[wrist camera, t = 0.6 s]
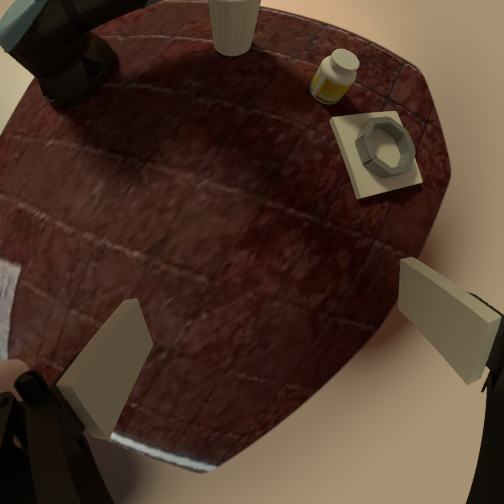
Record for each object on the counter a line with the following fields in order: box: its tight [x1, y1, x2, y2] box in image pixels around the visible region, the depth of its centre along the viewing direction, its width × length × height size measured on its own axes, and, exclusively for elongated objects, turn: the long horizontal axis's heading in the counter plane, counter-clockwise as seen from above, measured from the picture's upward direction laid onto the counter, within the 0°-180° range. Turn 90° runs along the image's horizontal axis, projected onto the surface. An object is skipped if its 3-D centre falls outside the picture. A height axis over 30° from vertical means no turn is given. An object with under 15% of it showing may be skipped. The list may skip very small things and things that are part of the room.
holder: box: [329, 111, 422, 199], centre depth 37 cm, size 13×13×4 cm
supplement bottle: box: [310, 49, 359, 104], centre depth 33 cm, size 5×5×10 cm
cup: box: [208, 0, 261, 56], centre depth 30 cm, size 8×8×14 cm
